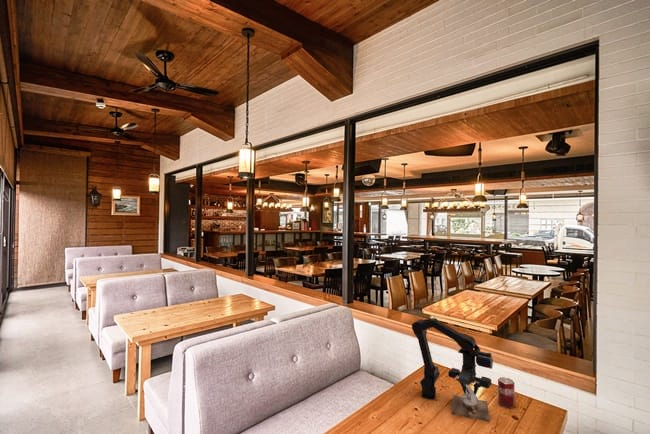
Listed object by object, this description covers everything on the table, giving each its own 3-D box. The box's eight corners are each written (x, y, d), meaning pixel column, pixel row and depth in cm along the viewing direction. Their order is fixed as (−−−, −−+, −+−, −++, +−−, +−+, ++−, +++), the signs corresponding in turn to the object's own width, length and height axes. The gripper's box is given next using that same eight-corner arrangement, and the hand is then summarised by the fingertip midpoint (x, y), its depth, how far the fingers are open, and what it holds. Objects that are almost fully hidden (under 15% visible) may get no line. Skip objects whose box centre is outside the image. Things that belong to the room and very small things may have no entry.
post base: (452, 414, 153) (452, 410, 153) (452, 397, 167) (452, 394, 167) (489, 421, 147) (489, 418, 147) (487, 404, 161) (487, 400, 161)
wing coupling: (459, 399, 162) (458, 383, 162) (473, 399, 161) (473, 384, 161) (467, 413, 151) (466, 396, 151) (482, 413, 150) (482, 396, 150)
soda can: (517, 409, 156) (516, 384, 156) (501, 407, 157) (500, 383, 157) (511, 401, 163) (511, 377, 163) (496, 399, 164) (495, 376, 165)
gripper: (443, 363, 157) (444, 395, 157) (484, 374, 145) (485, 409, 144) (452, 356, 165) (452, 386, 165) (491, 366, 153) (492, 399, 153)
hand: (469, 395), depth 157 cm, fingers closed on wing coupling, 4 cm apart
